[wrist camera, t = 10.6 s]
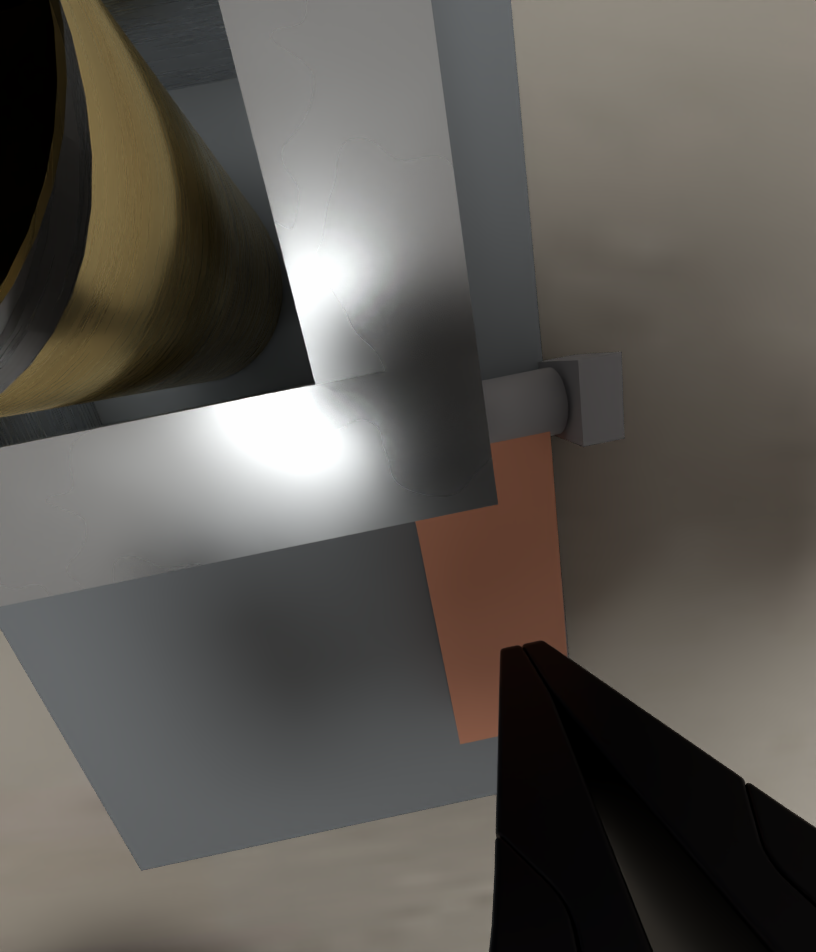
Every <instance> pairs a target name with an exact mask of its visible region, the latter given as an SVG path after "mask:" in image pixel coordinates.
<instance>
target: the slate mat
mask: <svg viewBox="0 0 816 952" xmlns="http://www.w3.org/2000/svg"><path fill="white" fill-rule="evenodd" d="M431 4H432V12H433V19H434V27H435V34H436V42H437V49H438V57H439V64H440V72H441V79H442V87H443V94H444V102H445V109H446V117H447V124H448V132H449V139H450V147H451V154H452V162H453V169H454V177H455V184H456V192H457V199H458V207H459V214H460V222H461V229H462V237H463V244H464V252H465V259H466V267H467V274H468V282H469V289H470V297H471V304H472V312H473V319H474V327H475V334H476V342H477V349H478V357H479V364H480V372H481V379H482V381H483V380H488V379H493V378H498V377H503V376H508V375H513V374H518V373H523V372H527V371H532V370H537V369H542V368H547V367H551V368H553V369H555V370H556V371H557V372H558V374H559V375H560V377H561V379H562V381H563V383H564V386H565V390H566V394H567V400H568V419H567V424H566V427H565V429H564V431H563V432H562V433H561V434H558V435H555V436H557V437H560V438H562V439H565V440H568V441H570V442H573V443H575V444H578V445H580V446H583V447H585V446H590V445H595V444H600V443H604V442H609V441H614V440H619V439H624V438H625V437H624V407H623V376H622V352H607V353H592V354H577V355H570V356H565V357H560V358H555V359H550V360H545V361H543V358H542V347H541V336H540V324H539V313H538V302H537V290H536V279H535V268H534V257H533V245H532V234H531V223H530V211H529V200H528V189H527V177H526V166H525V155H524V143H523V132H522V121H521V110H520V98H519V87H518V76H517V64H516V53H515V42H514V30H513V19H512V8H511V0H431ZM167 92H168V93H169V94H170V96H171V97H172V98H173V100H174V101H175V102H176V104H177V105H178V107H179V108H180V109H181V111H182V112H183V113H184V115H185V116H186V118H187V119H188V120H189V122H190V123H191V124H192V126H193V127H194V129H195V130H196V131H197V133H198V134H199V135H200V137H201V138H202V139H203V141H204V142H205V144H206V145H207V146H208V148H209V149H210V150H211V152H212V153H213V155H214V156H215V157H216V159H217V160H218V161H219V163H220V164H221V166H222V167H223V168H224V170H225V171H226V172H227V174H228V175H229V177H230V178H231V179H232V181H233V182H234V183H235V185H236V186H237V187H238V189H239V190H240V192H241V193H242V194H243V196H244V197H245V198H246V200H247V201H248V203H249V204H250V205H251V207H252V208H253V209H254V211H255V212H256V214H257V215H258V217H259V218H260V220H261V221H262V223H263V224H264V226H265V228H266V230H267V232H268V234H269V236H270V238H271V240H272V242H273V245H274V247H275V250H276V253H277V256H278V260H279V264H280V268H281V275H282V283H283V299H282V307H281V313H280V317H279V320H278V324H277V327H276V329H275V331H274V334H273V336H272V338H271V340H270V341H269V343H268V344H267V346H266V348H265V349H264V350H263V351H262V352H261V354H260V355H259V356H258V357H257V358H256V359H255V360H254V361H253V362H252V363H250V364H249V365H248V366H246V367H245V368H243V369H242V370H240V371H239V372H237V373H235V374H233V375H231V376H228V377H226V378H222V379H219V380H216V381H210V382H204V383H198V384H193V385H187V386H181V387H175V388H169V389H164V390H158V391H152V392H146V393H140V394H135V395H129V396H123V397H117V398H111V399H106V400H100V401H94V404H95V406H96V409H97V411H98V414H99V416H100V418H101V421H102V423H103V425H106V424H111V423H116V422H121V421H126V420H131V419H136V418H141V417H146V416H151V415H156V414H161V413H166V412H171V411H176V410H181V409H186V408H191V407H196V406H201V405H206V404H211V403H216V402H221V401H226V400H231V399H236V398H241V397H246V396H251V395H256V394H261V393H266V392H271V391H276V390H281V389H286V388H291V387H296V386H301V385H306V384H311V383H315V381H314V377H313V373H312V369H311V365H310V361H309V357H308V353H307V349H306V345H305V341H304V337H303V333H302V329H301V325H300V321H299V317H298V314H297V310H296V306H295V302H294V298H293V294H292V290H291V286H290V282H289V278H288V274H287V270H286V266H285V262H284V258H283V254H282V250H281V246H280V242H279V238H278V235H277V231H276V227H275V223H274V219H273V215H272V211H271V207H270V203H269V199H268V195H267V191H266V187H265V183H264V179H263V175H262V171H261V167H260V163H259V160H258V156H257V152H256V148H255V144H254V140H253V136H252V132H251V128H250V124H249V120H248V116H247V112H246V108H245V104H244V100H243V96H242V92H241V88H240V84H239V81H238V78H234V79H229V80H223V81H218V82H213V83H207V84H202V85H197V86H192V87H186V88H181V89H176V90H170V91H167ZM559 553H560V550H559ZM560 566H561V562H560ZM561 579H562V573H561ZM562 592H563V584H562ZM563 605H564V596H563ZM564 618H565V607H564ZM0 629H1V630H2V632H3V634H4V635H5V637H6V639H7V641H8V642H9V644H10V646H11V648H12V649H13V651H14V653H15V654H16V656H17V658H18V660H19V661H20V663H21V665H22V666H23V668H24V670H25V672H26V673H27V675H28V677H29V678H30V680H31V682H32V684H33V685H34V687H35V689H36V691H37V692H38V694H39V696H40V697H41V699H42V701H43V703H44V704H45V706H46V708H47V709H48V711H49V713H50V715H51V716H52V718H53V720H54V721H55V723H56V725H57V727H58V728H59V730H60V732H61V734H62V735H63V737H64V739H65V740H66V742H67V744H68V746H69V747H70V749H71V751H72V752H73V754H74V756H75V758H76V759H77V761H78V763H79V764H80V766H81V768H82V770H83V771H84V773H85V775H86V777H87V778H88V780H89V782H90V783H91V785H92V787H93V789H94V790H95V792H96V794H97V795H98V797H99V799H100V801H101V802H102V804H103V806H104V807H105V809H106V811H107V813H108V814H109V816H110V818H111V820H112V821H113V823H114V825H115V826H116V828H117V830H118V832H119V833H120V835H121V837H122V838H123V840H124V842H125V844H126V845H127V847H128V849H129V850H130V852H131V854H132V856H133V857H134V859H135V861H136V862H137V864H138V866H139V868H140V869H141V871H142V870H147V869H151V868H156V867H161V866H165V865H170V864H174V863H179V862H184V861H188V860H193V859H198V858H202V857H207V856H212V855H216V854H221V853H226V852H230V851H235V850H240V849H244V848H249V847H253V846H258V845H263V844H267V843H272V842H277V841H281V840H286V839H291V838H295V837H300V836H305V835H309V834H314V833H318V832H323V831H328V830H332V829H337V828H342V827H346V826H351V825H356V824H360V823H365V822H370V821H374V820H379V819H383V818H388V817H393V816H397V815H402V814H407V813H411V812H416V811H421V810H425V809H430V808H435V807H439V806H444V805H449V804H453V803H458V802H462V801H467V800H472V799H476V798H481V797H486V796H490V795H495V794H497V759H498V736H497V737H492V738H488V739H483V740H478V741H474V742H469V743H464V744H460V740H459V736H458V731H457V726H456V721H455V717H454V712H453V707H452V702H451V697H450V692H449V687H448V682H447V677H446V672H445V667H444V662H443V657H442V652H441V647H440V642H439V637H438V632H437V627H436V622H435V617H434V613H433V608H432V603H431V598H430V593H429V588H428V583H427V578H426V573H425V568H424V563H423V558H422V553H421V548H420V543H419V538H418V533H417V528H416V523H415V522H410V523H405V524H400V525H395V526H390V527H385V528H380V529H376V530H371V531H366V532H361V533H356V534H351V535H346V536H341V537H337V538H332V539H327V540H322V541H317V542H312V543H307V544H303V545H298V546H293V547H288V548H283V549H278V550H273V551H268V552H264V553H259V554H254V555H249V556H244V557H239V558H234V559H230V560H225V561H220V562H215V563H210V564H205V565H200V566H195V567H191V568H186V569H181V570H176V571H171V572H166V573H161V574H156V575H152V576H147V577H142V578H137V579H132V580H127V581H122V582H118V583H113V584H108V585H103V586H98V587H93V588H88V589H83V590H79V591H74V592H69V593H64V594H59V595H54V596H49V597H44V598H40V599H35V600H30V601H25V602H20V603H15V604H10V605H6V606H1V607H0ZM565 631H566V644H567V657H568V658H569V652H568V641H567V630H566V618H565Z"/></svg>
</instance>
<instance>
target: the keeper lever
mask: <svg viewBox="0 0 816 952" xmlns="http://www.w3.org/2000/svg"><path fill="white" fill-rule="evenodd" d="M482 387H483V394H484V402H485V409H486V417H487V424H488V432H489V439H490V446H491V454H492V461H493V469H494V476H495V484H496V491H497V499H498V504H497V505H492V506H488V507H483V508H478V509H473V510H468V511H463V512H458V513H453V514H449V515H444V516H439V517H434V518H429V519H424V520H419V521H415V523H416V528H417V533H418V538H419V543H420V548H421V553H422V558H423V563H424V568H425V573H426V578H427V583H428V588H429V593H430V598H431V603H432V608H433V613H434V617H435V622H436V627H437V632H438V637H439V642H440V647H441V652H442V657H443V662H444V667H445V672H446V677H447V682H448V687H449V692H450V697H451V702H452V707H453V712H454V717H455V721H456V726H457V731H458V736H459V740H460V744H464V743H469V742H474V741H478V740H483V739H488V738H492V737H497V736H498V715H499V672H500V650H501V649H502V648H506V647H511V646H515V645H520V646H521V647H522V646H523V644H525V643H530V642H534V641H539V640H542V641H545V642H546V643H548V644H549V645H551V646H552V647H553V648H555V649H556V650H558V651H559V652H561V653H562V654H564V655H565V656H567V644H566V631H565V618H564V605H563V592H562V579H561V566H560V553H559V539H558V526H557V513H556V500H555V487H554V474H553V461H552V448H551V436H553V435H558V434H561V433H562V432H563V431H564V429H565V427H566V424H567V419H568V400H567V394H566V390H565V386H564V383H563V381H562V379H561V377H560V375H559V374H558V372H557V371H556V370H555V369H553V368H551V367H547V368H542V369H537V370H532V371H527V372H523V373H518V374H513V375H508V376H503V377H498V378H493V379H488V380H483V381H482Z"/></svg>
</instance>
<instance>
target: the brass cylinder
mask: <svg viewBox="0 0 816 952" xmlns="http://www.w3.org/2000/svg"><path fill="white" fill-rule="evenodd" d="M282 299H283V283H282V275H281V268H280V264H279V260H278V256H277V253H276V250H275V247H274V245H273V242H272V240H271V238H270V236H269V234H268V232H267V230H266V228H265V226H264V224H263V223H262V221H261V220H260V218H259V217H258V215H257V214H256V212H255V211H254V209H253V208H252V207H251V205H250V204H249V203H248V201H247V200H246V198H245V197H244V196H243V194H242V193H241V192H240V190H239V189H238V187H237V186H236V185H235V183H234V182H233V181H232V179H231V178H230V177H229V175H228V174H227V172H226V171H225V170H224V168H223V167H222V166H221V164H220V163H219V161H218V160H217V159H216V157H215V156H214V155H213V153H212V152H211V150H210V149H209V148H208V146H207V145H206V144H205V142H204V141H203V139H202V138H201V137H200V135H199V134H198V133H197V131H196V130H195V129H194V127H193V126H192V124H191V123H190V122H189V120H188V119H187V118H186V116H185V115H184V113H183V112H182V111H181V109H180V108H179V107H178V105H177V104H176V102H175V101H174V100H173V98H172V97H171V96H170V94H169V93H168V92H167V90H166V89H165V87H164V86H163V85H162V83H161V82H160V81H159V79H158V78H157V76H156V75H155V74H154V72H153V71H152V70H151V68H150V67H149V65H148V64H147V63H146V61H145V60H144V59H143V57H142V56H141V55H140V53H139V52H138V50H137V49H136V48H135V46H134V45H133V44H132V42H131V41H130V39H129V38H128V37H127V35H126V34H125V33H124V31H123V30H122V28H121V27H120V26H119V24H118V23H117V22H116V20H115V19H114V18H113V16H112V15H111V13H110V12H109V11H108V9H107V8H106V7H105V5H104V4H103V2H102V1H101V0H0V418H1V417H7V416H13V415H19V414H24V413H30V412H36V411H42V410H48V409H53V408H59V407H65V406H71V405H77V404H82V403H88V402H94V401H100V400H106V399H111V398H117V397H123V396H129V395H135V394H140V393H146V392H152V391H158V390H164V389H169V388H175V387H181V386H187V385H193V384H198V383H204V382H210V381H216V380H219V379H222V378H226V377H228V376H231V375H233V374H235V373H237V372H239V371H240V370H242V369H243V368H245V367H246V366H248V365H249V364H250V363H252V362H253V361H254V360H255V359H256V358H257V357H258V356H259V355H260V354H261V352H262V351H263V350H264V349H265V348H266V346H267V344H268V343H269V341H270V340H271V338H272V336H273V334H274V331H275V329H276V327H277V324H278V320H279V317H280V313H281V307H282Z"/></svg>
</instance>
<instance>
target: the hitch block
mask: <svg viewBox="0 0 816 952" xmlns="http://www.w3.org/2000/svg"><path fill="white" fill-rule="evenodd" d="M101 1H102V2H103V4H104V5H105V7H106V8H107V9H108V11H109V12H110V13H111V15H112V16H113V18H114V19H115V20H116V22H117V23H118V24H119V26H120V27H121V28H122V30H123V31H124V33H125V34H126V35H127V37H128V38H129V39H130V41H131V42H132V44H133V45H134V46H135V48H136V49H137V50H138V52H139V53H140V55H141V56H142V57H143V59H144V60H145V61H146V63H147V64H148V65H149V67H150V68H151V70H152V71H153V72H154V74H155V75H156V76H157V78H158V79H159V81H160V82H161V83H162V85H163V86H164V87H165V89H166V90H167V91H170V90H176V89H181V88H186V87H192V86H197V85H202V84H207V83H213V82H218V81H223V80H229V79H234V78H238V81H239V84H240V88H241V92H242V96H243V100H244V104H245V108H246V112H247V116H248V120H249V124H250V128H251V132H252V136H253V140H254V144H255V148H256V152H257V156H258V160H259V163H260V167H261V171H262V175H263V179H264V183H265V187H266V191H267V195H268V199H269V203H270V207H271V211H272V215H273V219H274V223H275V227H276V231H277V235H278V238H279V242H280V246H281V250H282V254H283V258H284V262H285V266H286V270H287V274H288V278H289V282H290V286H291V290H292V294H293V298H294V302H295V306H296V310H297V314H298V317H299V321H300V325H301V329H302V333H303V337H304V341H305V345H306V349H307V353H308V357H309V361H310V365H311V369H312V373H313V377H314V381H315V383H311V384H306V385H301V386H296V387H291V388H286V389H281V390H276V391H271V392H266V393H261V394H256V395H251V396H246V397H241V398H236V399H231V400H226V401H221V402H216V403H211V404H206V405H201V406H196V407H191V408H186V409H181V410H176V411H171V412H166V413H161V414H156V415H151V416H146V417H141V418H136V419H131V420H126V421H121V422H116V423H111V424H106V425H103V423H102V421H101V418H100V416H99V414H98V411H97V409H96V406H95V404H94V402H88V403H82V404H77V405H71V406H65V407H59V408H53V409H48V410H42V411H36V412H30V413H24V414H19V415H13V416H7V417H1V418H0V607H1V606H6V605H10V604H15V603H20V602H25V601H30V600H35V599H40V598H44V597H49V596H54V595H59V594H64V593H69V592H74V591H79V590H83V589H88V588H93V587H98V586H103V585H108V584H113V583H118V582H122V581H127V580H132V579H137V578H142V577H147V576H152V575H156V574H161V573H166V572H171V571H176V570H181V569H186V568H191V567H195V566H200V565H205V564H210V563H215V562H220V561H225V560H230V559H234V558H239V557H244V556H249V555H254V554H259V553H264V552H268V551H273V550H278V549H283V548H288V547H293V546H298V545H303V544H307V543H312V542H317V541H322V540H327V539H332V538H337V537H341V536H346V535H351V534H356V533H361V532H366V531H371V530H376V529H380V528H385V527H390V526H395V525H400V524H405V523H410V522H415V521H419V520H424V519H429V518H434V517H439V516H444V515H449V514H453V513H458V512H463V511H468V510H473V509H478V508H483V507H488V506H492V505H497V504H498V499H497V491H496V484H495V476H494V469H493V461H492V454H491V446H490V439H489V432H488V424H487V417H486V409H485V402H484V394H483V387H482V379H481V372H480V364H479V357H478V349H477V342H476V334H475V327H474V319H473V312H472V304H471V297H470V289H469V282H468V274H467V267H466V259H465V252H464V244H463V237H462V229H461V222H460V214H459V207H458V199H457V192H456V184H455V177H454V169H453V162H452V154H451V147H450V139H449V132H448V124H447V117H446V109H445V102H444V94H443V87H442V79H441V72H440V64H439V57H438V49H437V42H436V34H435V27H434V19H433V12H432V4H431V0H101Z"/></svg>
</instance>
